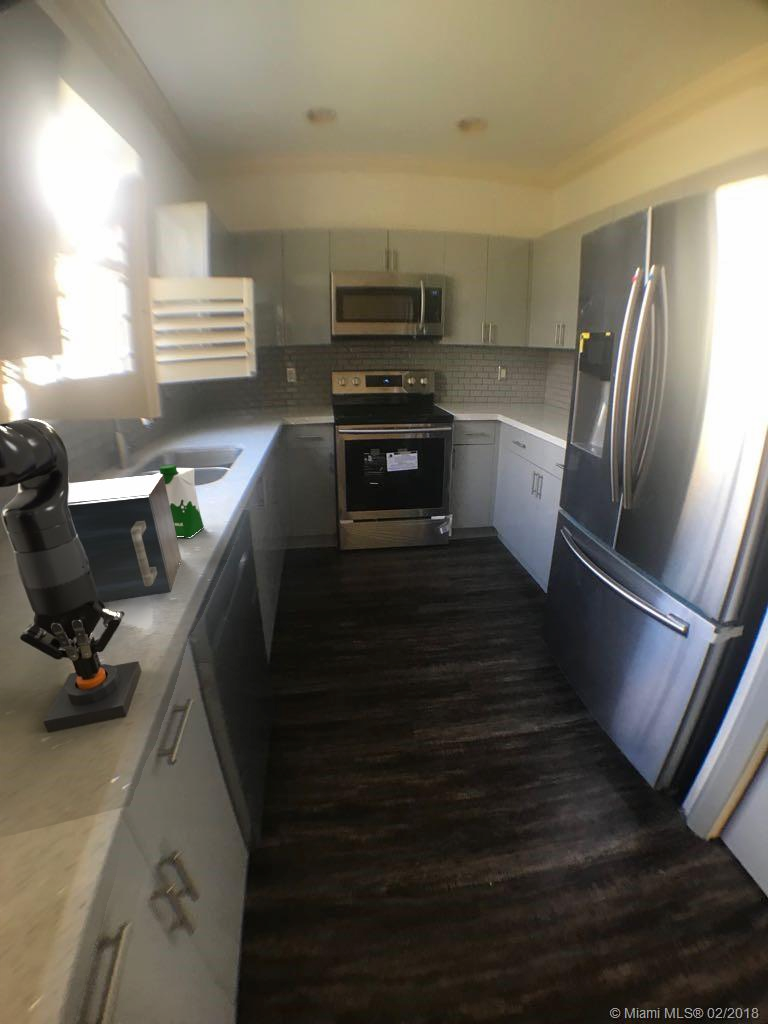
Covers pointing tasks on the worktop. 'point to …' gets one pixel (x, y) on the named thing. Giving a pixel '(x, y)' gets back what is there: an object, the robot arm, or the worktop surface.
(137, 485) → the cupboard
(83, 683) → the release button
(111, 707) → the panel
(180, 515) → the milk carton
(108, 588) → the door
